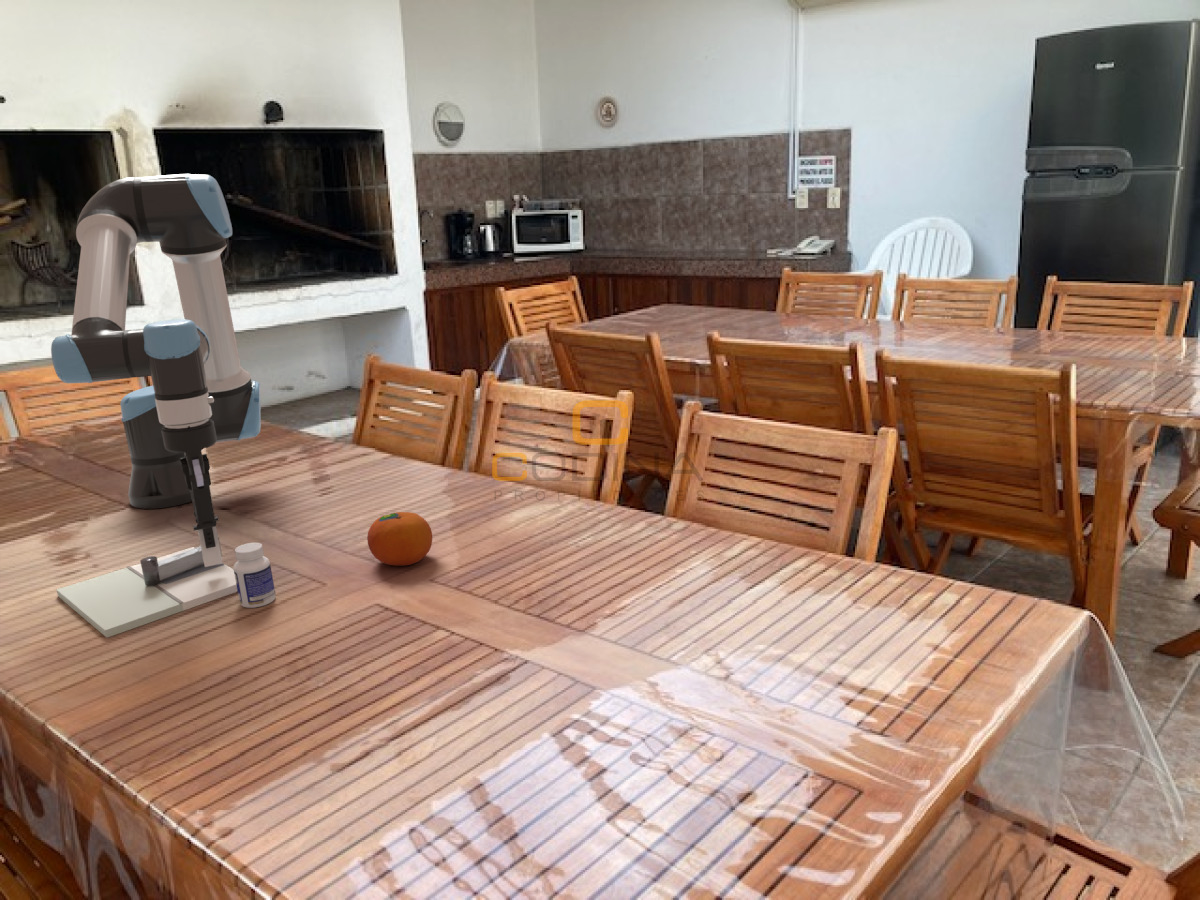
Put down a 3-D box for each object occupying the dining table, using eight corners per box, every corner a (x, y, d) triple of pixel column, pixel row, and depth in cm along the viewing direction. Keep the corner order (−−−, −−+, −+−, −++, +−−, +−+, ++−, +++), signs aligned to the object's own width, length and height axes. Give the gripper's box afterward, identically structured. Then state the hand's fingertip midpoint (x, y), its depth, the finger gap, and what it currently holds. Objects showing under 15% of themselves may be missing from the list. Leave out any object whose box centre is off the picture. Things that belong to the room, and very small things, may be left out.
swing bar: (150, 587, 147) (145, 563, 146) (141, 583, 149) (136, 560, 148) (225, 558, 157) (221, 536, 156) (216, 555, 159) (212, 533, 158)
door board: (194, 553, 164) (193, 545, 164) (252, 586, 149) (251, 578, 149) (58, 596, 149) (56, 588, 149) (106, 637, 134) (104, 629, 134)
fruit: (447, 553, 158) (442, 508, 156) (410, 577, 149) (404, 531, 147) (395, 546, 163) (390, 502, 160) (357, 569, 154) (350, 523, 151)
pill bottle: (283, 595, 145) (274, 542, 143) (261, 610, 140) (251, 555, 138) (255, 592, 147) (245, 539, 144) (232, 606, 142) (222, 552, 140)
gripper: (217, 426, 140) (243, 572, 146) (208, 409, 151) (232, 545, 158) (163, 435, 136) (191, 583, 143) (158, 417, 148) (184, 555, 154)
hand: (213, 563), depth 150 cm, fingers closed
